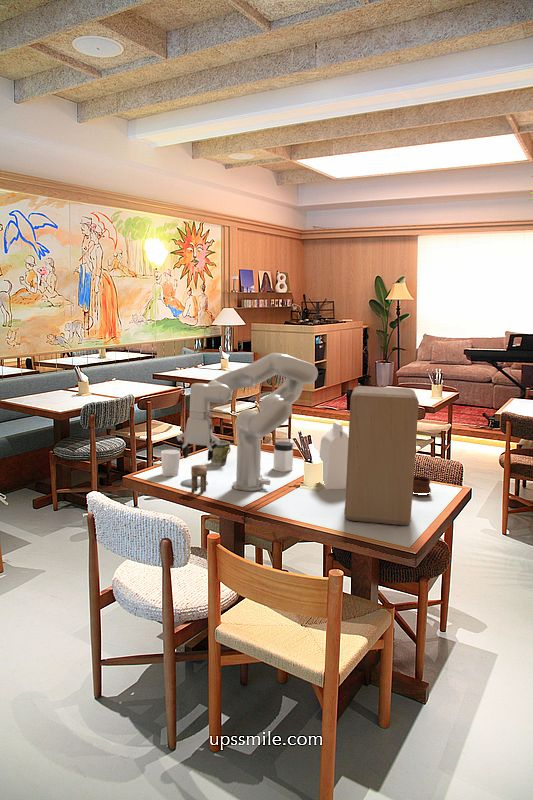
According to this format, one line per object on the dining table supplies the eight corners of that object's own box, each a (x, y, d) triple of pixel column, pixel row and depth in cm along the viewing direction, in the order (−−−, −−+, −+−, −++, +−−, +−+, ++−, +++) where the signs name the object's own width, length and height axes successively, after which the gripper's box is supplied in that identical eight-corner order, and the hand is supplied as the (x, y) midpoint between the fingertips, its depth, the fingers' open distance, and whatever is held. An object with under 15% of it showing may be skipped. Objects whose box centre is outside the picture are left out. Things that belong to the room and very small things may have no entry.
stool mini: (208, 490, 244) (208, 465, 243) (203, 494, 238) (204, 469, 237) (193, 488, 245) (194, 464, 244) (189, 493, 240) (189, 468, 238)
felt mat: (211, 481, 257) (211, 480, 257) (203, 488, 246) (203, 487, 246) (185, 478, 259) (185, 477, 259) (177, 486, 248) (177, 485, 248)
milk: (317, 481, 262) (319, 420, 258) (342, 479, 265) (345, 420, 261) (326, 489, 250) (329, 426, 246) (353, 488, 253) (356, 425, 249)
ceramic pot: (433, 504, 236) (435, 486, 235) (389, 496, 245) (390, 479, 244) (448, 494, 251) (449, 477, 250) (406, 486, 260) (407, 470, 259)
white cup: (181, 472, 268) (181, 450, 267) (177, 477, 261) (177, 454, 259) (163, 471, 269) (163, 449, 268) (158, 476, 261) (159, 453, 260)
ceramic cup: (203, 462, 286) (203, 441, 284) (220, 459, 292) (220, 439, 291) (221, 468, 276) (221, 447, 275) (238, 465, 283) (238, 444, 281)
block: (410, 528, 209) (419, 396, 202) (343, 522, 213) (350, 393, 206) (407, 507, 231) (415, 388, 224) (347, 502, 235) (353, 384, 228)
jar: (272, 466, 282) (272, 441, 280) (289, 466, 284) (290, 441, 282) (275, 472, 274) (276, 445, 272) (293, 471, 275) (294, 445, 273)
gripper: (223, 415, 239) (221, 458, 242) (181, 412, 242) (179, 454, 245) (218, 418, 232) (216, 463, 234) (174, 415, 235) (173, 458, 238)
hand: (197, 458), depth 240 cm, fingers open, 9 cm apart
